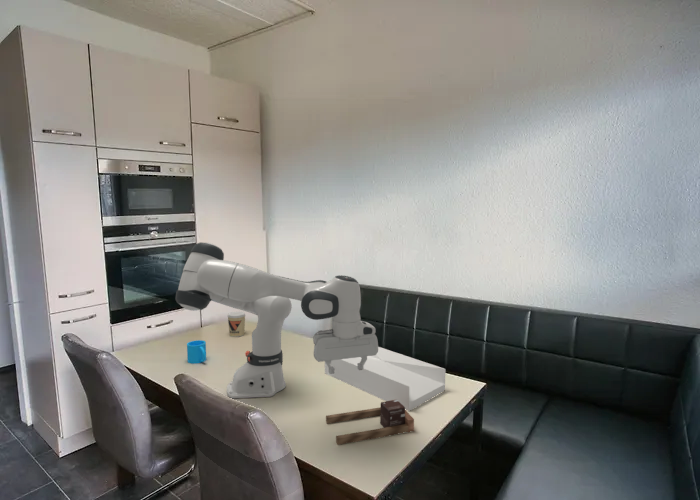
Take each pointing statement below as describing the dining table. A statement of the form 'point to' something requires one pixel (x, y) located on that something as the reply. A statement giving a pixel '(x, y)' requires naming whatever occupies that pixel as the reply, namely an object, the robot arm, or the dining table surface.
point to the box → (392, 413)
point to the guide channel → (370, 433)
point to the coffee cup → (236, 324)
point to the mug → (196, 351)
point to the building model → (392, 377)
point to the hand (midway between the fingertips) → (346, 371)
